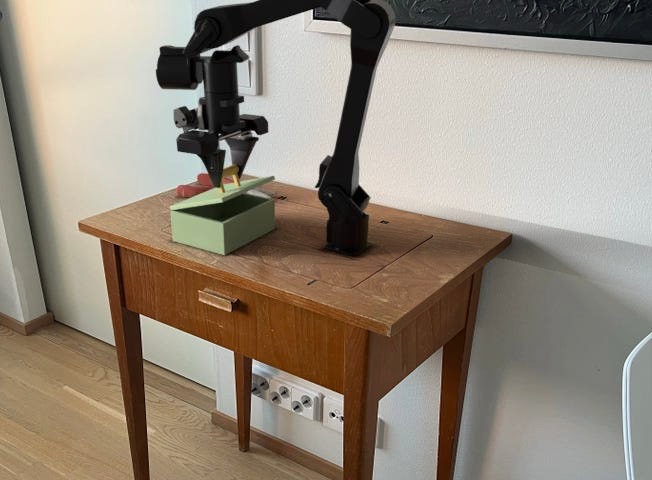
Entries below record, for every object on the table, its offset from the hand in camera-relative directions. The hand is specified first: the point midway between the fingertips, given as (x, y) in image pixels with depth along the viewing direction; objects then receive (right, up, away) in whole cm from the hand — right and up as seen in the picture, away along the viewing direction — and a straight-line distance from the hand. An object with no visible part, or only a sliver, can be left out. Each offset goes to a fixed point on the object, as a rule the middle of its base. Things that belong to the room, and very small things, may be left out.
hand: (227, 183), depth 129 cm
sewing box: (-1, -8, +6) cm, 10 cm away
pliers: (-3, +3, +25) cm, 25 cm away
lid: (-1, -2, +2) cm, 2 cm away
